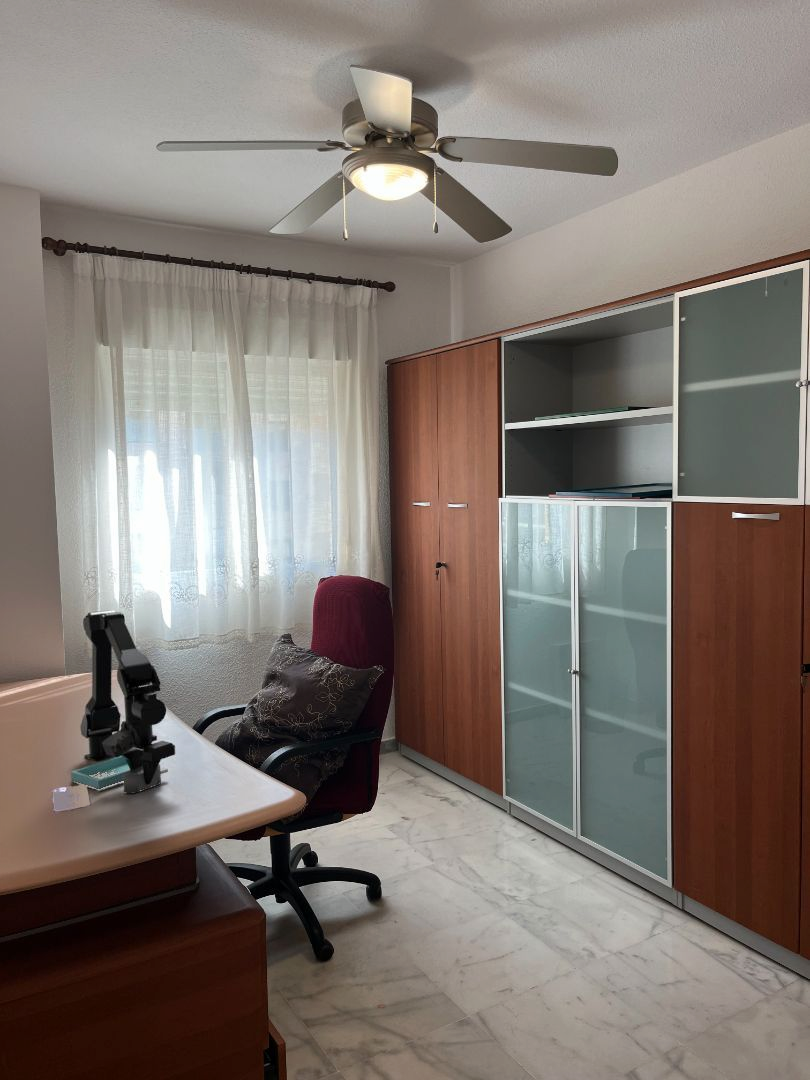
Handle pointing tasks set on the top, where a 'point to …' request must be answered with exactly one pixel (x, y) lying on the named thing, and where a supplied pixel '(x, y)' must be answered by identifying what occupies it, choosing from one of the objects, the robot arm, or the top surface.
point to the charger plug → (140, 779)
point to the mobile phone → (63, 799)
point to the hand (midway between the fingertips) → (142, 782)
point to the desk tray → (102, 767)
